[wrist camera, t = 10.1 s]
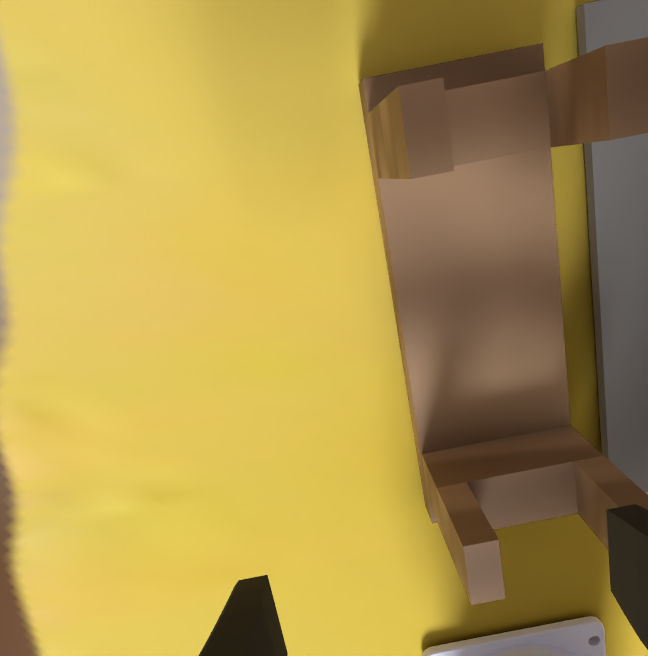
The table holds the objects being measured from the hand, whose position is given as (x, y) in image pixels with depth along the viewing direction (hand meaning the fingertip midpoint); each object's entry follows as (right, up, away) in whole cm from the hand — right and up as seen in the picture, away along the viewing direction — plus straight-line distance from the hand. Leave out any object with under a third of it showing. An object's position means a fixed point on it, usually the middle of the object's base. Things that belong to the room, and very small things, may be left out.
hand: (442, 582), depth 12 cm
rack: (+3, +6, +9) cm, 11 cm away
